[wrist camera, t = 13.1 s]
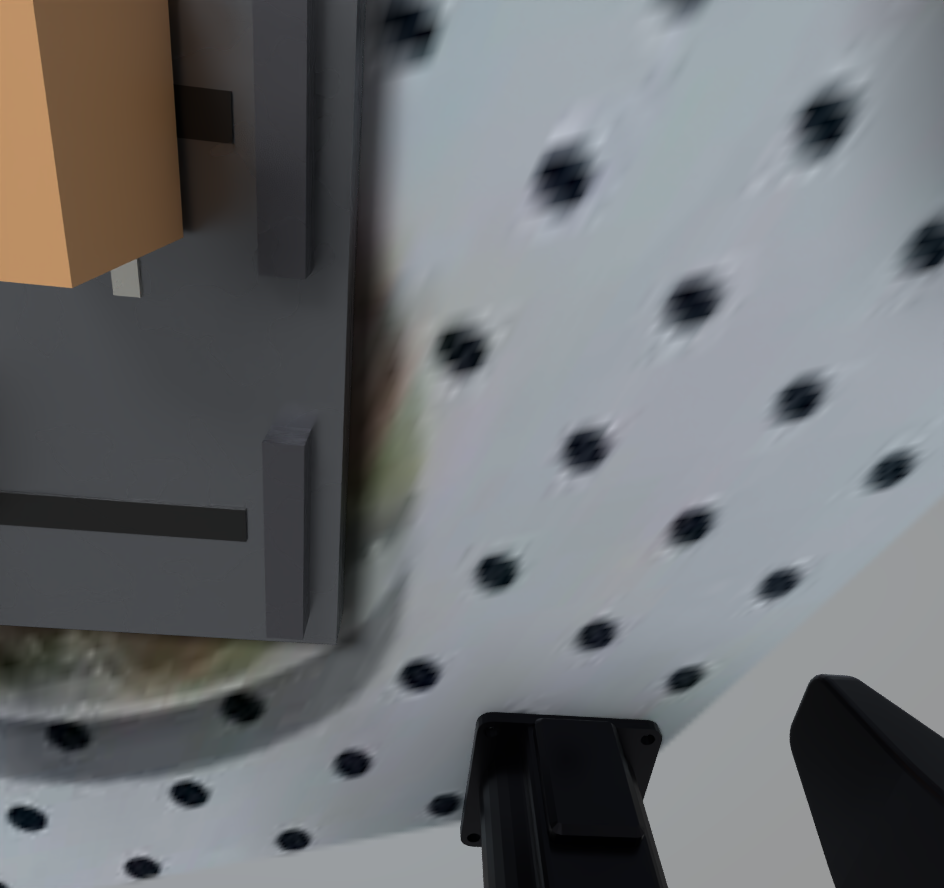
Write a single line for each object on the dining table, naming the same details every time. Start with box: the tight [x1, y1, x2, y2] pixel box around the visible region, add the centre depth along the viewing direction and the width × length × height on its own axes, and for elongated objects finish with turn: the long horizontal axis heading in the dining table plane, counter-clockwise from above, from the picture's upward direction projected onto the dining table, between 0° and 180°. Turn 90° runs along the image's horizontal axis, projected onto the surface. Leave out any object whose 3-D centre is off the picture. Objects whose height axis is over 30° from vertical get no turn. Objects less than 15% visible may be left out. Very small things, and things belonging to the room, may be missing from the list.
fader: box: [0, 0, 184, 288], centre depth 12 cm, size 5×3×5 cm, turn 174°
